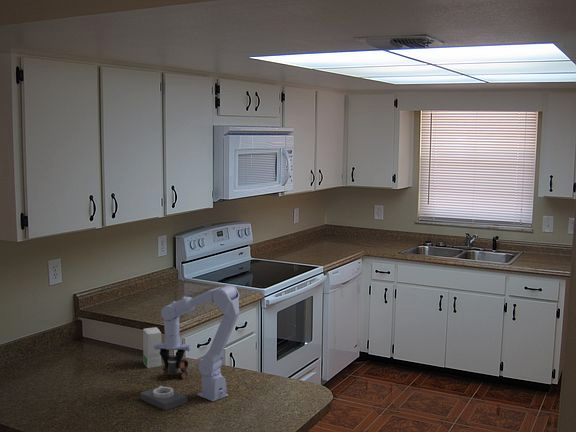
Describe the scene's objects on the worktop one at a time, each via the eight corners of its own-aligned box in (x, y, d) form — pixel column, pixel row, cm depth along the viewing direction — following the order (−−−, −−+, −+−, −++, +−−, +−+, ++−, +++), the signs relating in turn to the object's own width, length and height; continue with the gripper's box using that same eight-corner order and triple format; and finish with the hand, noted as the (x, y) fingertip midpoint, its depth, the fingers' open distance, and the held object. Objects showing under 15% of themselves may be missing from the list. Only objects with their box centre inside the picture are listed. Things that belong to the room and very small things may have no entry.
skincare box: (143, 362, 298) (142, 328, 296) (157, 360, 300) (157, 326, 298) (147, 368, 290) (146, 333, 288) (162, 366, 293) (161, 331, 291)
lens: (180, 371, 265) (180, 356, 265) (171, 374, 262) (171, 359, 262) (174, 369, 268) (173, 354, 267) (165, 371, 265) (165, 357, 265)
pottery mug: (180, 383, 274) (170, 366, 273) (166, 388, 279) (156, 372, 279) (197, 367, 284) (187, 351, 283) (183, 373, 289) (173, 357, 288)
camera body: (187, 402, 253) (186, 392, 252) (165, 410, 246) (165, 400, 245) (162, 391, 264) (161, 381, 263) (140, 398, 257) (140, 388, 256)
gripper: (192, 332, 266) (193, 365, 268) (157, 330, 268) (158, 363, 270) (187, 337, 259) (188, 371, 261) (151, 335, 262) (152, 369, 263)
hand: (172, 367), depth 265 cm, fingers closed on lens, 4 cm apart
